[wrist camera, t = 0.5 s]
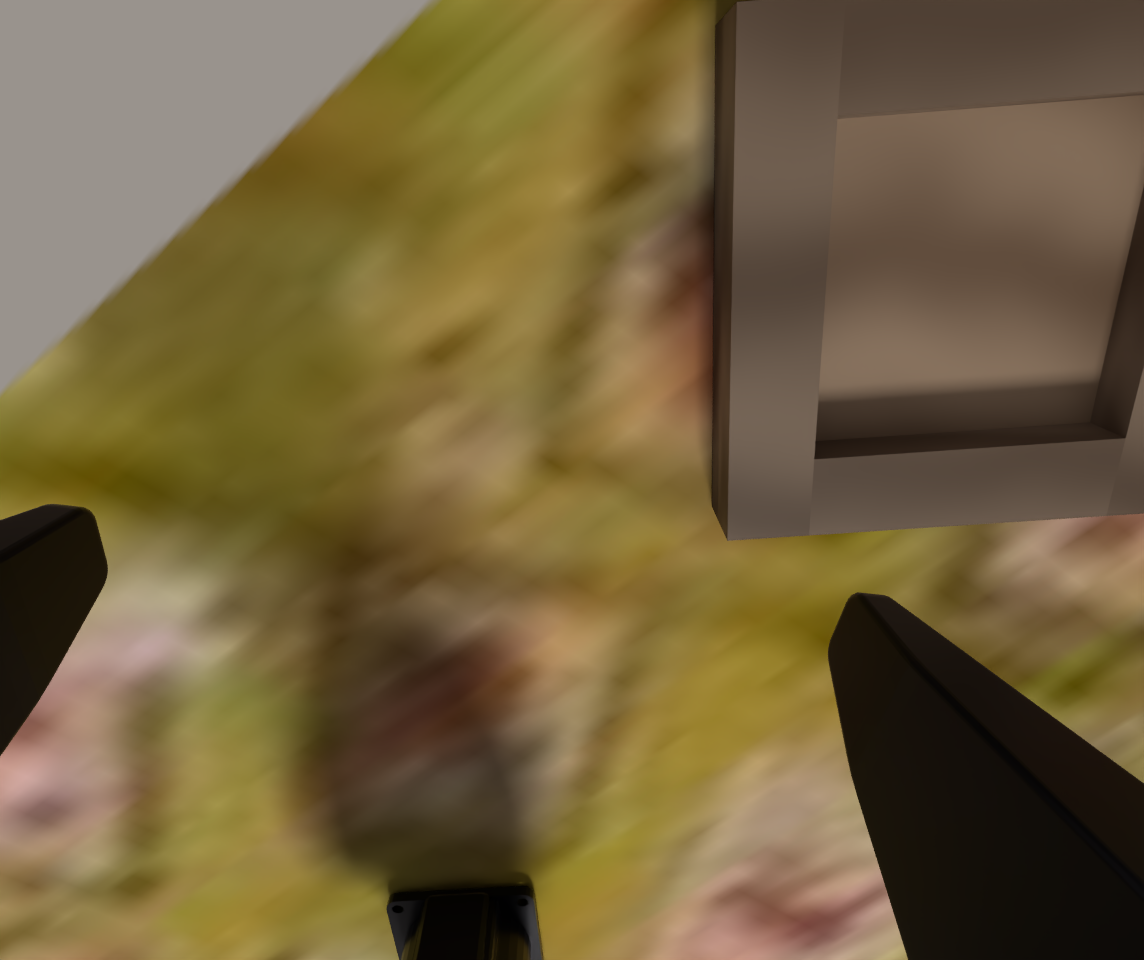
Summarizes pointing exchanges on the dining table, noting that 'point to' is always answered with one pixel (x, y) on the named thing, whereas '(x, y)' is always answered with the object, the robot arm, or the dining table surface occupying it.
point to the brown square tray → (927, 264)
